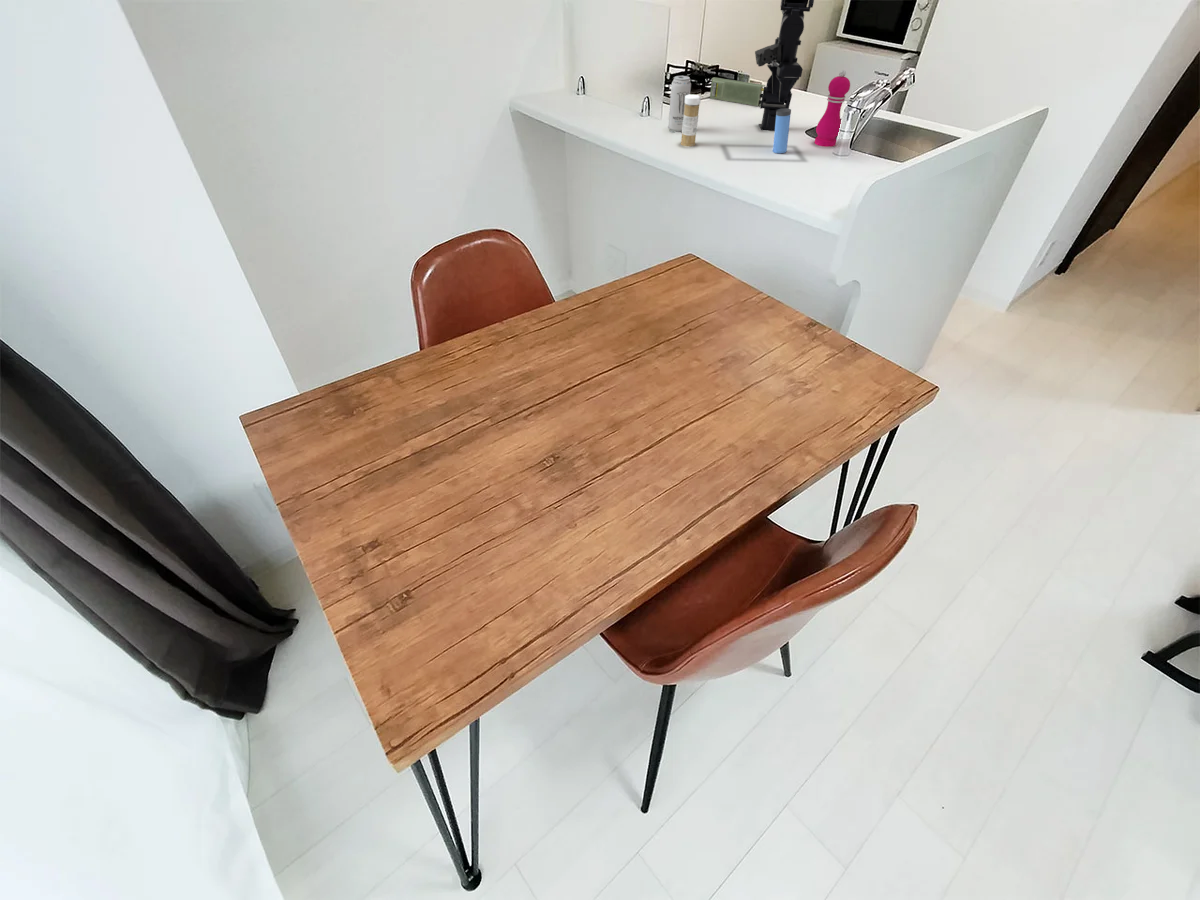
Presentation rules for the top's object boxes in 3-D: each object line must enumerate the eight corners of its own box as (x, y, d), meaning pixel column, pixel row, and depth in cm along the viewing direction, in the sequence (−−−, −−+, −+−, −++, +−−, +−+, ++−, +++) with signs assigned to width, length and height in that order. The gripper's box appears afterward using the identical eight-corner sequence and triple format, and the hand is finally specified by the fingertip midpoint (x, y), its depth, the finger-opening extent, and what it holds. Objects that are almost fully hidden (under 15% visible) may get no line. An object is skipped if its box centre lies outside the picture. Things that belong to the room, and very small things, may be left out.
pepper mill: (834, 141, 189) (853, 67, 176) (838, 149, 184) (858, 73, 170) (810, 140, 190) (828, 67, 176) (814, 147, 184) (832, 72, 171)
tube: (775, 109, 174) (789, 107, 174) (771, 149, 181) (785, 148, 181) (778, 113, 171) (792, 111, 171) (774, 154, 178) (788, 152, 178)
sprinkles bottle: (688, 142, 187) (693, 93, 178) (698, 146, 184) (704, 96, 175) (677, 144, 185) (681, 95, 176) (686, 148, 182) (692, 98, 173)
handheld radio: (712, 96, 228) (775, 107, 218) (708, 98, 226) (771, 109, 216) (714, 76, 223) (779, 86, 213) (710, 78, 221) (775, 88, 211)
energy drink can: (672, 134, 192) (677, 80, 182) (664, 128, 197) (668, 76, 186) (689, 132, 194) (695, 79, 184) (680, 127, 198) (686, 74, 188)
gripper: (754, 28, 172) (744, 90, 183) (767, 40, 159) (756, 106, 170) (793, 28, 172) (781, 90, 183) (809, 41, 159) (795, 107, 170)
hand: (777, 98), depth 176 cm, fingers open, 9 cm apart
